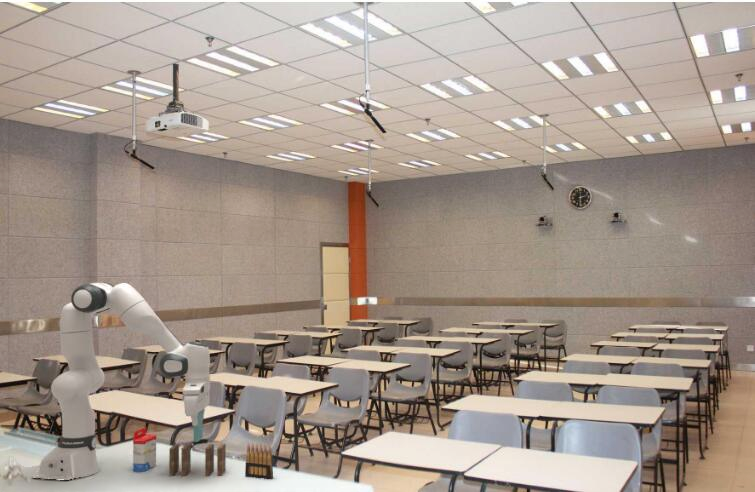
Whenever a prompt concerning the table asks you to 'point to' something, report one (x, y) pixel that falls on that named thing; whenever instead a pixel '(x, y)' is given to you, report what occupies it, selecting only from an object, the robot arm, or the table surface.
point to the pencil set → (259, 462)
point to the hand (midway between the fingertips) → (198, 422)
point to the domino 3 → (198, 428)
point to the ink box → (144, 450)
